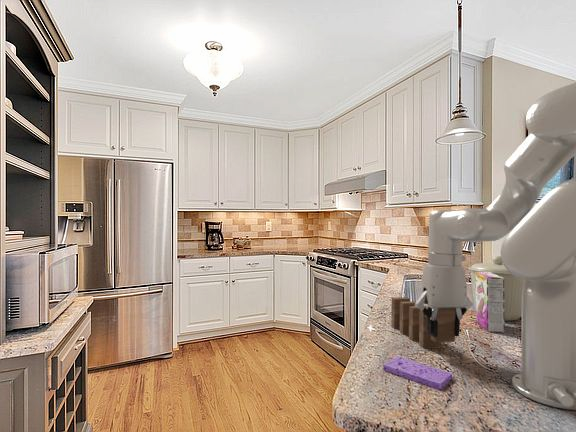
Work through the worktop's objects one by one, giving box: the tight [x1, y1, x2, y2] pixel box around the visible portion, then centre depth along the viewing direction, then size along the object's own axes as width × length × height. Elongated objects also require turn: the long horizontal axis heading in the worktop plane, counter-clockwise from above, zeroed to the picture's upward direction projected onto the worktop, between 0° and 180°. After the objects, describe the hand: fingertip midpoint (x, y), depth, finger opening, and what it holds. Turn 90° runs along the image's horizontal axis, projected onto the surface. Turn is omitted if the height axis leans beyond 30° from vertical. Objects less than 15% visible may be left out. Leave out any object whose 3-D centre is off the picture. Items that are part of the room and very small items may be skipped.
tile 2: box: [418, 311, 442, 349], centre depth 91 cm, size 2×5×9 cm, turn 99°
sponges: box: [382, 355, 453, 390], centre depth 74 cm, size 7×13×2 cm, turn 45°
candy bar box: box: [475, 272, 506, 334], centre depth 109 cm, size 11×5×16 cm, turn 168°
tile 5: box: [390, 296, 411, 330], centre depth 108 cm, size 2×5×9 cm, turn 98°
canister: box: [468, 255, 524, 322], centre depth 121 cm, size 18×18×21 cm
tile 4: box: [399, 300, 417, 336], centre depth 102 cm, size 2×5×9 cm, turn 99°
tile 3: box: [408, 305, 427, 342], centre depth 97 cm, size 2×5×9 cm, turn 99°
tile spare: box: [431, 308, 456, 343], centre depth 85 cm, size 2×5×9 cm, turn 99°
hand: (443, 334), depth 85 cm, fingers closed on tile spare, 4 cm apart
